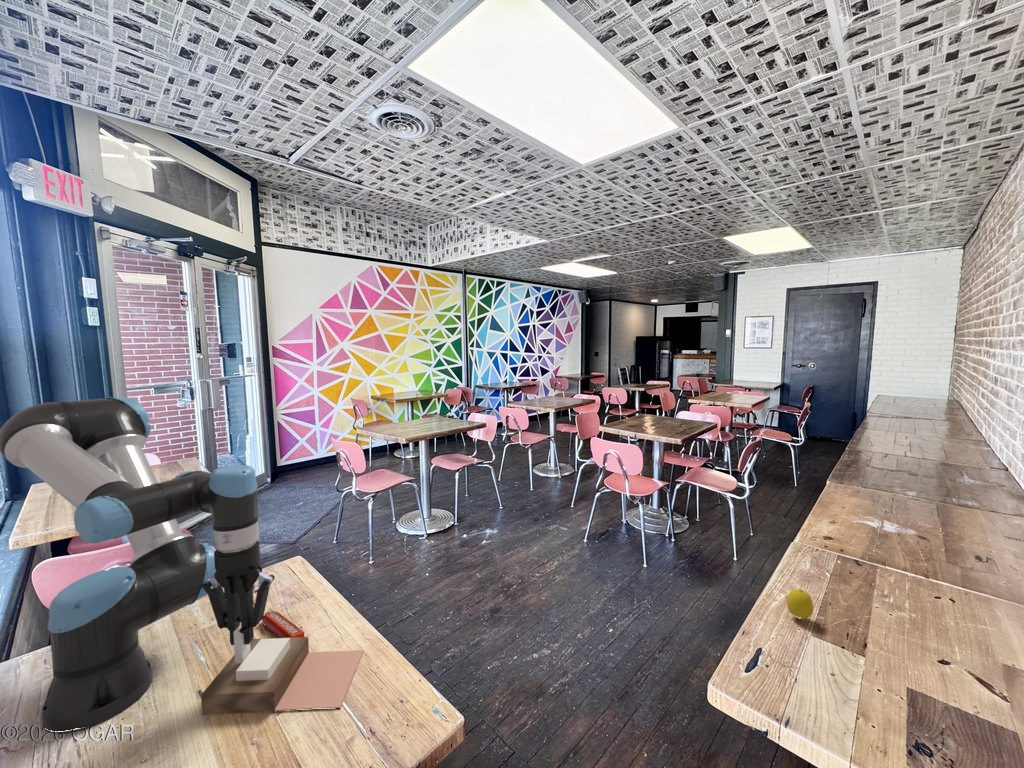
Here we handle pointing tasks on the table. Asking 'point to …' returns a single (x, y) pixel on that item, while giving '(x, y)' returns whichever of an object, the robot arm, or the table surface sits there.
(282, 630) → the candy bar
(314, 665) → the mat
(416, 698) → the table surface
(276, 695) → the serving board
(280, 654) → the tile
